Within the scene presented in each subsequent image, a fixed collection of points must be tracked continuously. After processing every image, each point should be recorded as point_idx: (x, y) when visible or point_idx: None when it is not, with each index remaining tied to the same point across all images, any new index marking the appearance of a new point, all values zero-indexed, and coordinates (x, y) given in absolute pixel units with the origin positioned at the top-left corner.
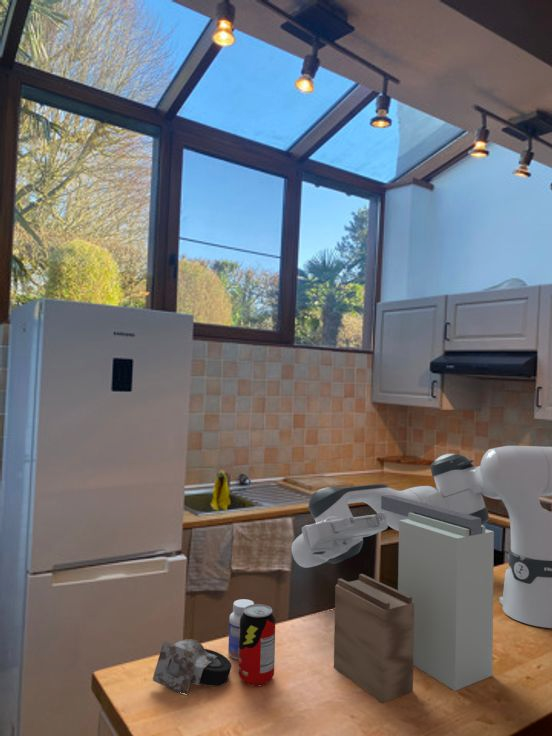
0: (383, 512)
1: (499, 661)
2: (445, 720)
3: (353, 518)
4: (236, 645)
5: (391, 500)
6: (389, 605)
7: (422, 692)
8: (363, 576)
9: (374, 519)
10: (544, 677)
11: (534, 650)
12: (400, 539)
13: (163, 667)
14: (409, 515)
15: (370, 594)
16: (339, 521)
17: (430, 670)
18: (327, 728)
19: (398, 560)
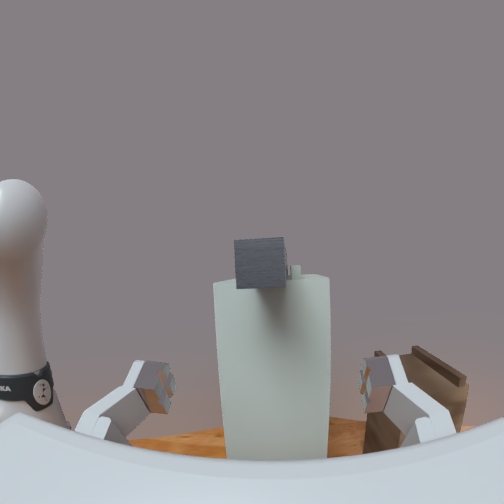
0: (138, 360)
1: (207, 455)
2: (361, 427)
3: (252, 461)
4: None
5: (284, 247)
6: (412, 349)
7: (353, 452)
8: (414, 382)
9: (116, 434)
10: (205, 430)
11: (146, 444)
12: (329, 318)
13: None
14: (300, 270)
15: (427, 354)
16: (424, 397)
17: None
18: (470, 426)
19: (330, 365)
